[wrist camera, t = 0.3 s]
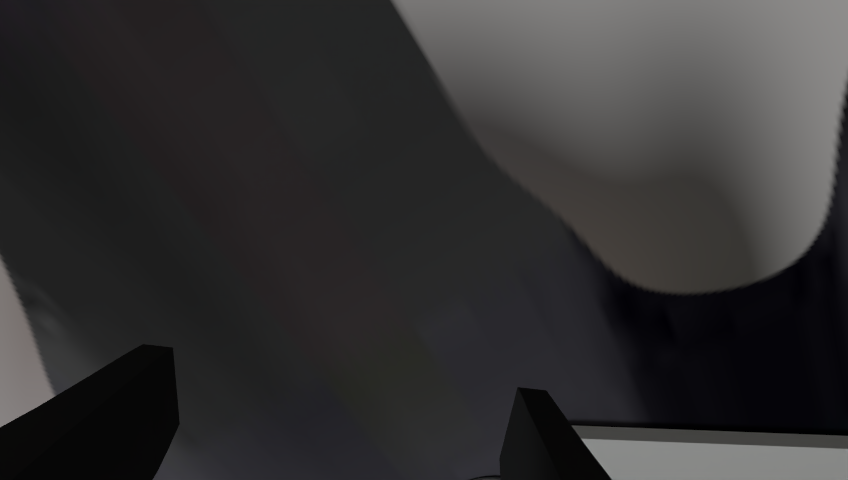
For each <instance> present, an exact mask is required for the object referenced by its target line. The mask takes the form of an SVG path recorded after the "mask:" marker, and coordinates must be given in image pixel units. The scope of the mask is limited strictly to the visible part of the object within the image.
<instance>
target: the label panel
mask: <svg viewBox="0 0 848 480" xmlns="http://www.w3.org/2000/svg"><path fill="white" fill-rule="evenodd" d="M571 426H572V427H573V428H574V430H575V431H576V433H577V434H578V435H579V437H580V438H581V439H582V441H583V442H584V444H585V445H586V446H587V448H588V449H589V450H590V452H591V453H592V454H593V456H594V457H595V458H596V459H597V461H598V462H599V463H600V465H601V466H602V467H603V468H604V470H605V471H606V472H607V474H608V475H609V476H610V477H611V479H612V480H848V436H838V435H811V434H785V433H759V432H732V431H706V430H680V429H653V428H627V427H601V426H574V425H571ZM473 480H501V478H499V477H483V478H477V479H473Z"/></svg>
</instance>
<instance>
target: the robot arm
mask: <svg viewBox="0 0 848 480" xmlns="http://www.w3.org/2000/svg"><path fill="white" fill-rule="evenodd" d="M179 424H180V423H179V412H178V400H177V389H176V378H175V366H174V355H173V348H172V347H163V346H154V345H145V344H143V345H141V346H139V347H137V348H135V349H134V350H132V351H130V352H128V353H127V354H125V355H123V356H122V357H120V358H118V359H117V360H115V361H113V362H112V363H110V364H108V365H107V366H105V367H103V368H102V369H100V370H98V371H97V372H95V373H94V374H92V375H90V376H89V377H87V378H85V379H84V380H82V381H80V382H79V383H77V384H75V385H74V386H72V387H70V388H69V389H67V390H65V391H64V392H62V393H60V394H59V395H57V396H55V397H53V398H52V399H50V400H49V401H47V402H45V403H43V404H42V405H40V406H38V407H37V408H35V409H33V410H31V411H29V412H28V413H26V414H24V415H22V416H20V417H19V418H17V419H15V420H13V421H11V422H9V423H8V424H6V425H4V426H2V427H0V480H152V479H153V478H154V476H155V474H156V473H157V471H158V469H159V467H160V465H161V463H162V461H163V459H164V457H165V455H166V453H167V450H168V448H169V446H170V444H171V442H172V439H173V437H174V435H175V433H176V430H177V428H178V426H179ZM500 476H501V480H612V479H611V477H610V476H609V475H608V474H607V472H606V471H605V470H604V468H603V467H602V466H601V465H600V463H599V462H598V461H597V459H596V458H595V457H594V456H593V454H592V453H591V452H590V450H589V449H588V448H587V446H586V445H585V444H584V442H583V441H582V439H581V438H580V437H579V435H578V434H577V433H576V431H575V430H574V428H573V427H572V426H571V424H570V423H569V421H568V420H567V419H566V417H565V416H564V414H563V413H562V412H561V410H560V409H559V407H558V406H557V405H556V403H555V402H554V400H553V399H552V398H551V396H550V395H549V394H548V392H547V391H546V390H538V389H529V388H520V387H518V388H517V392H516V396H515V400H514V404H513V408H512V412H511V415H510V419H509V423H508V427H507V431H506V435H505V439H504V443H503V447H502V451H501V455H500Z"/></svg>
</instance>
